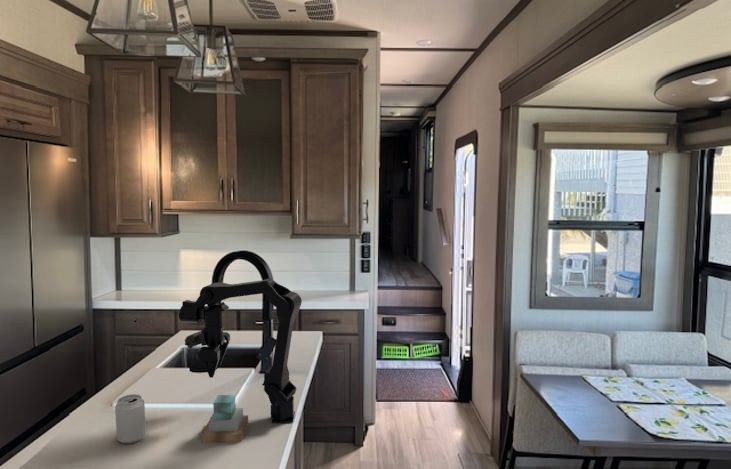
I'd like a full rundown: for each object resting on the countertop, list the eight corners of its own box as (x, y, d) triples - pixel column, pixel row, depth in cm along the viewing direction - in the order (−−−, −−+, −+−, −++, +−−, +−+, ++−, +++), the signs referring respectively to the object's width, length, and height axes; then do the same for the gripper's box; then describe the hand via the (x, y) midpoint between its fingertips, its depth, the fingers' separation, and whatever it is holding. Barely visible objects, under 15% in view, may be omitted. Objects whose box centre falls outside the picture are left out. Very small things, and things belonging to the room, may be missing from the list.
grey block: (243, 417, 150) (242, 408, 150) (237, 431, 142) (237, 421, 142) (216, 418, 150) (215, 408, 149) (209, 431, 142) (208, 421, 141)
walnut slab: (248, 424, 152) (248, 415, 151) (241, 443, 141) (241, 433, 140) (211, 425, 151) (211, 416, 151) (202, 444, 140) (201, 434, 140)
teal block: (235, 411, 148) (235, 394, 147) (231, 419, 143) (230, 402, 142) (218, 411, 148) (218, 395, 147) (213, 419, 143) (213, 402, 142)
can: (134, 446, 138) (132, 405, 137) (110, 443, 139) (108, 402, 138) (151, 433, 145) (149, 393, 144) (128, 430, 147) (126, 391, 145)
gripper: (195, 315, 165) (197, 361, 167) (177, 333, 146) (179, 384, 148) (229, 315, 165) (231, 360, 167) (216, 332, 147) (217, 383, 149)
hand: (215, 371), depth 158 cm, fingers open, 9 cm apart
